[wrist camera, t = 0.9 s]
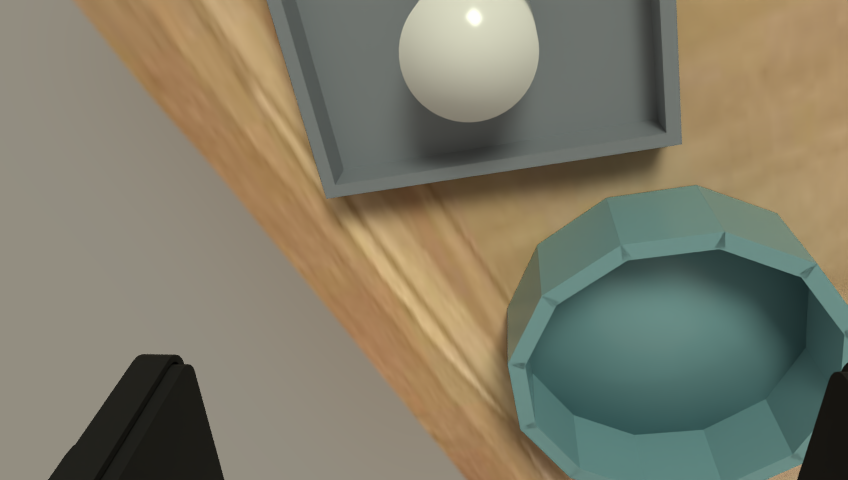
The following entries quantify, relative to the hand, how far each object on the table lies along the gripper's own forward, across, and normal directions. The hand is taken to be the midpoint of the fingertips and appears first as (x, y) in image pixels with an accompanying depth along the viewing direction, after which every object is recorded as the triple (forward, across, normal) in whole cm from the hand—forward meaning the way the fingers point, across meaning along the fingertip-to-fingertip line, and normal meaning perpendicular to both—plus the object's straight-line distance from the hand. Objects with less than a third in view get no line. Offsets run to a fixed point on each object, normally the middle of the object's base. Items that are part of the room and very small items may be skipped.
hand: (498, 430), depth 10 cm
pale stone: (+22, +1, -1) cm, 23 cm away
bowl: (+22, -9, +14) cm, 28 cm away
